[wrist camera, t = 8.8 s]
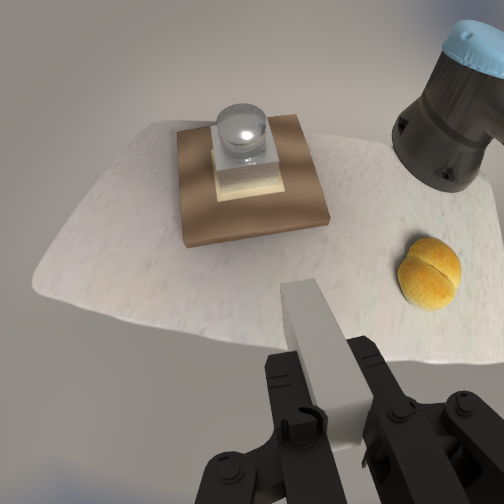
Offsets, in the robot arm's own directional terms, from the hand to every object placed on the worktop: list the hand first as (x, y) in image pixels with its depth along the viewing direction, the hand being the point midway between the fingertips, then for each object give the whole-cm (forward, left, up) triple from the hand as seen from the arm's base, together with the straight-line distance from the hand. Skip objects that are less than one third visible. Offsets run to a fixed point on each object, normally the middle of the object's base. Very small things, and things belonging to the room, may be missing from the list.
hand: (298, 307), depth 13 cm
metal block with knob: (+19, -7, -17) cm, 26 cm away
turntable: (+18, -7, -18) cm, 27 cm away
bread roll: (-4, -20, -20) cm, 28 cm away
